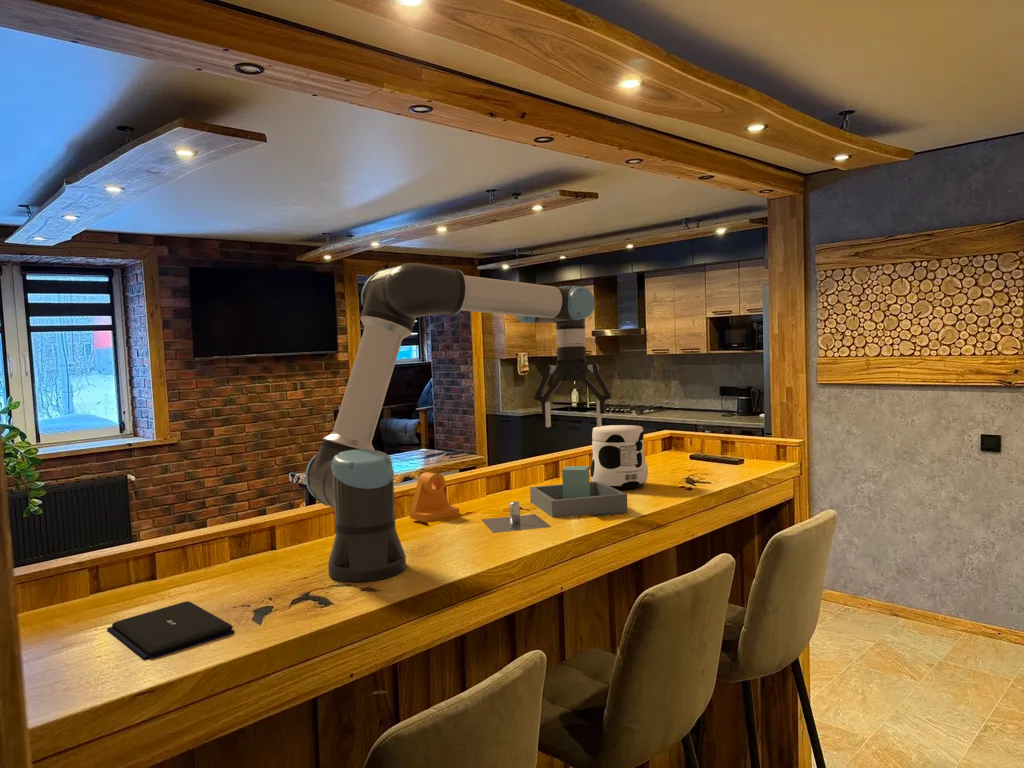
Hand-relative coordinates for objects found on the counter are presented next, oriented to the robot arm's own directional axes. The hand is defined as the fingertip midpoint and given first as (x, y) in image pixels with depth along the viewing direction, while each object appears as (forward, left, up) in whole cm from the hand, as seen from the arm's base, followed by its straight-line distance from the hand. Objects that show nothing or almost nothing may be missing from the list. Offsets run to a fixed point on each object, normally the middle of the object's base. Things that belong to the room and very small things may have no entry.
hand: (573, 426), depth 187 cm
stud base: (-20, -12, -22) cm, 32 cm away
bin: (0, 0, -22) cm, 22 cm away
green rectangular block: (0, 0, -21) cm, 21 cm away
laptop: (-88, -55, -23) cm, 106 cm away
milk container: (+22, +24, -22) cm, 40 cm away
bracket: (-37, +4, -22) cm, 43 cm away
